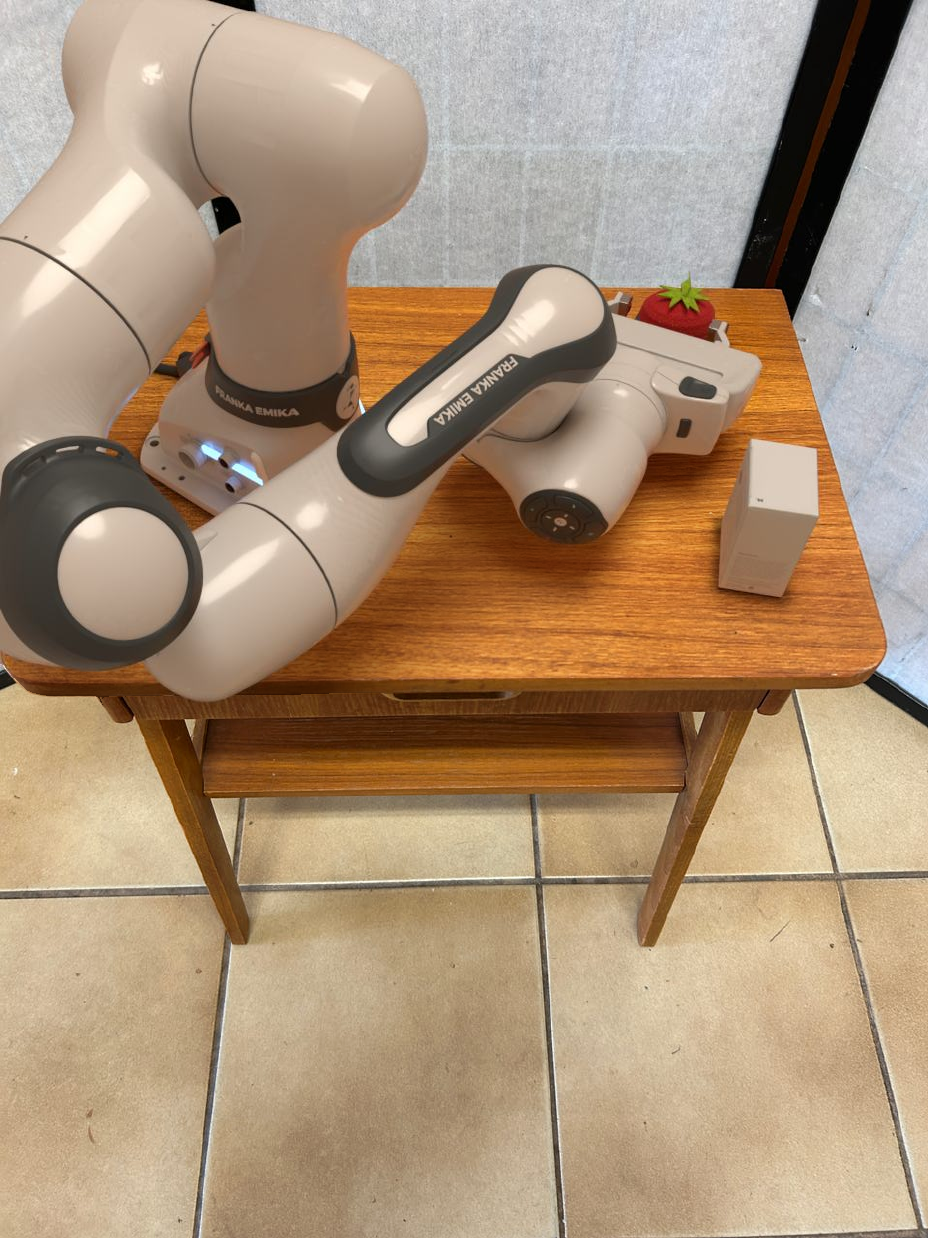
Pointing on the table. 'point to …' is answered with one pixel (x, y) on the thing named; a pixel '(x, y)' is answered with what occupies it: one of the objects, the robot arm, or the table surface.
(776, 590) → the small box
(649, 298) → the strawberry
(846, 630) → the table surface
